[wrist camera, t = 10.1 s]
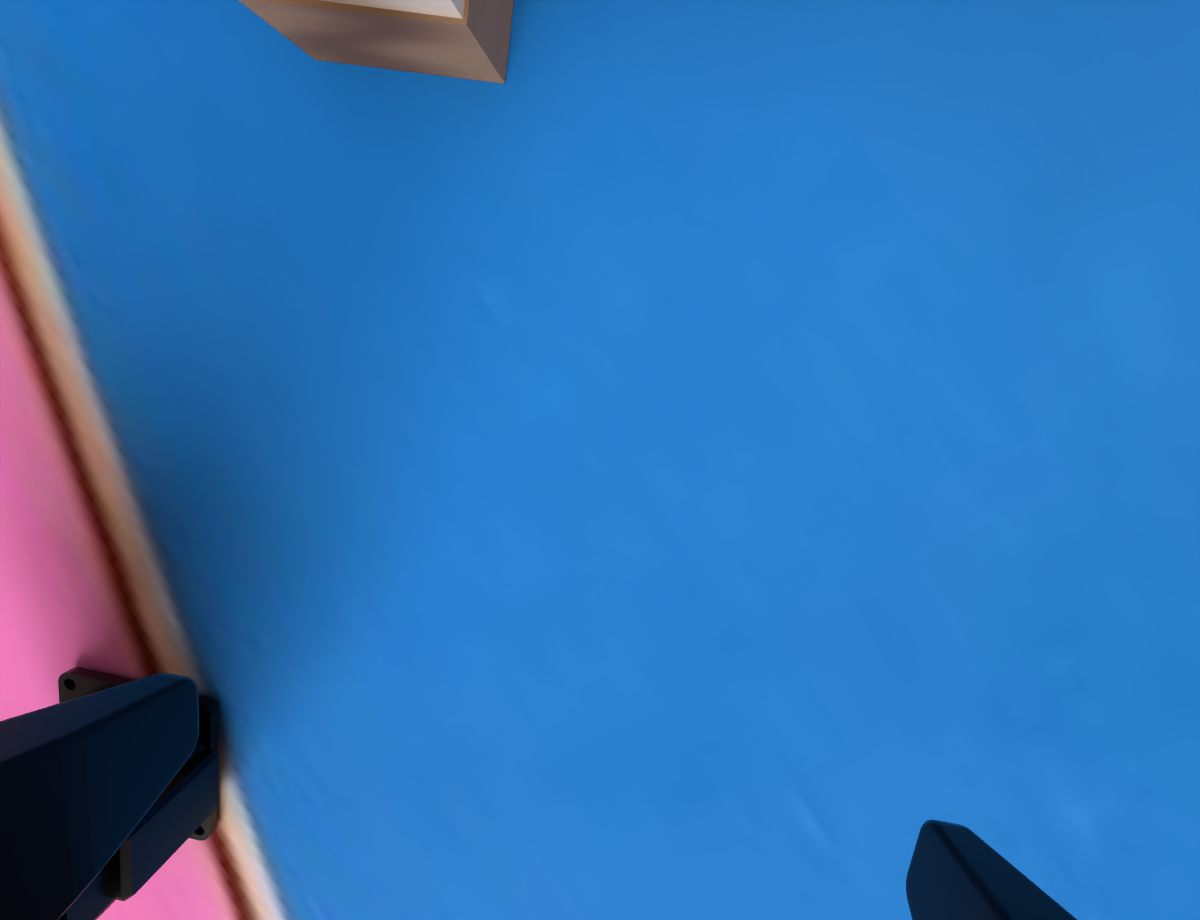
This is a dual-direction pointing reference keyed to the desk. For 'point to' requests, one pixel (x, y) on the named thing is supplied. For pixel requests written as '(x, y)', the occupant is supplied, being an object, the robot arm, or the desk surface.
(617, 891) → the desk surface
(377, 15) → the tower bottom
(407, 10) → the tower top
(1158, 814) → the desk surface
